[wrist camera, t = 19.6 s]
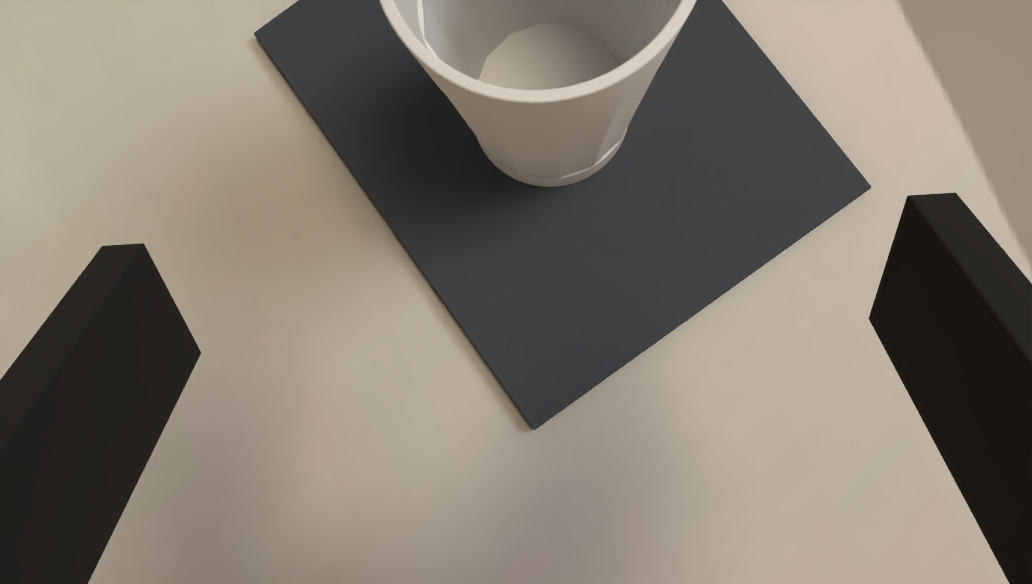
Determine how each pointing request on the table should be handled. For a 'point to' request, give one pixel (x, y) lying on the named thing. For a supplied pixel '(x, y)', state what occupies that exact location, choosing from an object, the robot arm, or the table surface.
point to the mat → (573, 193)
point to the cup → (542, 73)
